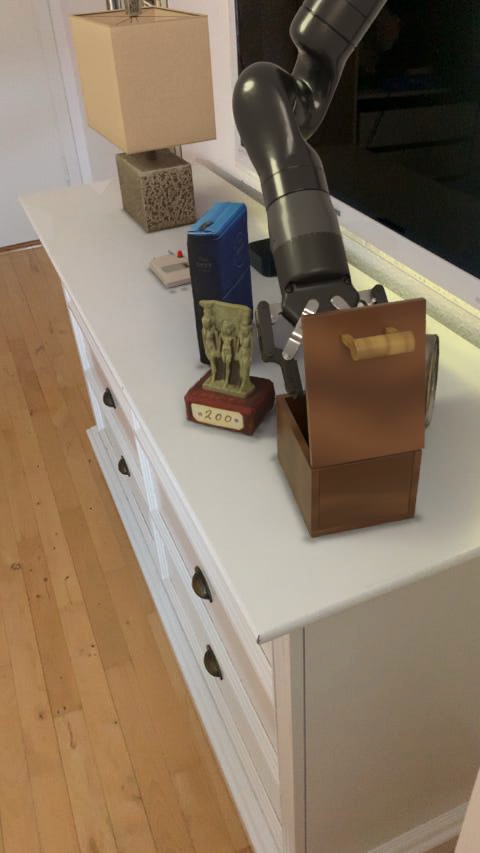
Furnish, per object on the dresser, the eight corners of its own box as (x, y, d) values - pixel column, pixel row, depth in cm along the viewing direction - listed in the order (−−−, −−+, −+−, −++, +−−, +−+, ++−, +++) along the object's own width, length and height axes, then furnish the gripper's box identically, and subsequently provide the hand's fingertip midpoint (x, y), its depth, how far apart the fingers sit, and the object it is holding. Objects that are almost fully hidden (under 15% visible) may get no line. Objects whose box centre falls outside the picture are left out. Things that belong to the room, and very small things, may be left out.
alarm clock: (423, 455, 81) (438, 329, 71) (376, 447, 82) (385, 323, 73) (436, 404, 89) (451, 285, 79) (393, 397, 91) (403, 280, 81)
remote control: (170, 292, 121) (168, 275, 119) (143, 261, 133) (141, 246, 131) (206, 283, 123) (205, 267, 121) (176, 254, 135) (174, 239, 133)
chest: (277, 458, 82) (275, 394, 77) (367, 442, 83) (371, 379, 78) (311, 538, 71) (311, 470, 66) (414, 517, 72) (422, 450, 67)
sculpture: (182, 425, 88) (169, 317, 79) (210, 392, 94) (200, 288, 85) (254, 440, 85) (248, 330, 76) (278, 405, 91) (275, 299, 82)
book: (229, 372, 98) (218, 233, 86) (193, 368, 99) (178, 231, 88) (257, 325, 109) (251, 196, 97) (224, 322, 111) (215, 195, 99)
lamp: (101, 205, 162) (65, -3, 138) (174, 191, 167) (152, -11, 144) (140, 245, 140) (106, 6, 116) (223, 227, 145) (206, -5, 121)
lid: (300, 315, 60) (319, 331, 55) (422, 296, 61) (451, 311, 57) (310, 465, 66) (327, 492, 61) (421, 445, 67) (447, 469, 62)
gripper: (246, 238, 70) (278, 394, 67) (380, 220, 72) (416, 371, 69) (237, 268, 77) (266, 410, 75) (360, 251, 79) (392, 388, 77)
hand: (338, 391), depth 72 cm, fingers open, 8 cm apart
